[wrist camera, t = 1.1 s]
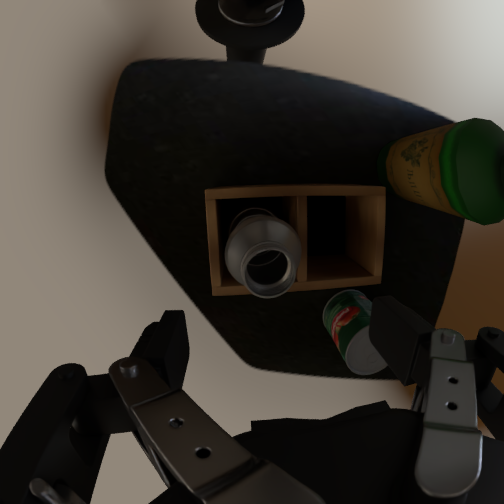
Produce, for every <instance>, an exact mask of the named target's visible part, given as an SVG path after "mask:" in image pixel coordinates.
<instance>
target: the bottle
mask: <svg viewBox="0 0 504 504" xmlns="http://www.w3.org/2000/svg"><path fill="white" fill-rule="evenodd" d="M376 165H377V173H378V179H379V181H380V182H381V184H382V186H383V187H386V191H387V192H388V193H390V194H392V195H394V196H396V197H397V198H401V199H404V200H408V201H411V202H415V203H418V204H421V205H425V206H428V207H431V208H434V209H438V210H441V211H444V212H447V213H450V214H453V215H456V216H459V217H462V218H465V219H467V220H470V221H473V222H476V223H479V224H481V225H489V224H494V223H499V222H500V221H502V220H503V219H504V131H503V130H502V129H501V128H500V127H499V126H498V125H496V124H495V123H494V122H492V121H491V120H485V119H479V118H472V119H468V120H464V121H461V122H457V123H453V124H449V125H446V126H442V127H438V128H435V129H431V130H428V131H424V132H421V133H417V134H414V135H410V136H407V137H404V138H401V139H397V140H394V141H391V142H390V143H388V144H387V145H386V146H385V147H383V148H382V149H381V151H380V154H379V156H378V159H377V162H376Z"/></svg>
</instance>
